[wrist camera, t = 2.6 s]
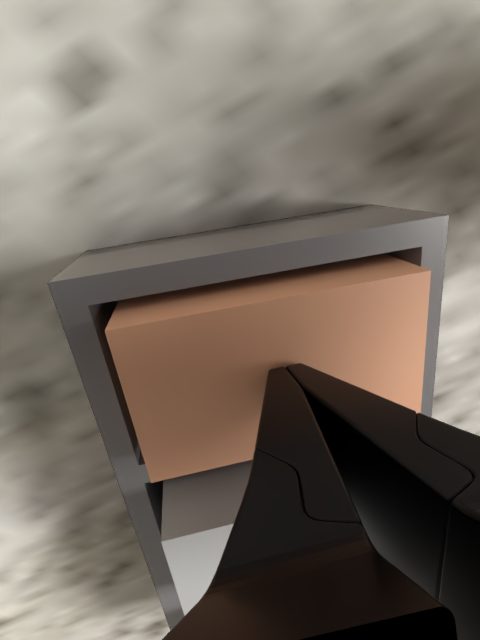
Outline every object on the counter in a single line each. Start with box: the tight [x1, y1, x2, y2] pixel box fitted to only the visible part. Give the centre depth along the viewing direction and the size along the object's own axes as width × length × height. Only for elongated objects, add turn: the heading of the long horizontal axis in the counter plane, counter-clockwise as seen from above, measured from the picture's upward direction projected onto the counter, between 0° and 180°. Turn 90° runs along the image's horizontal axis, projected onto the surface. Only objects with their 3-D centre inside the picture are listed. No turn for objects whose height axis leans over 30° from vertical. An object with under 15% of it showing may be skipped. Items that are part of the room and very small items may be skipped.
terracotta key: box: [105, 253, 431, 483], centre depth 10 cm, size 4×8×3 cm, turn 98°
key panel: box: [48, 205, 449, 631], centre depth 14 cm, size 18×10×4 cm, turn 8°
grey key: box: [161, 460, 252, 616], centre depth 12 cm, size 4×8×3 cm, turn 98°
